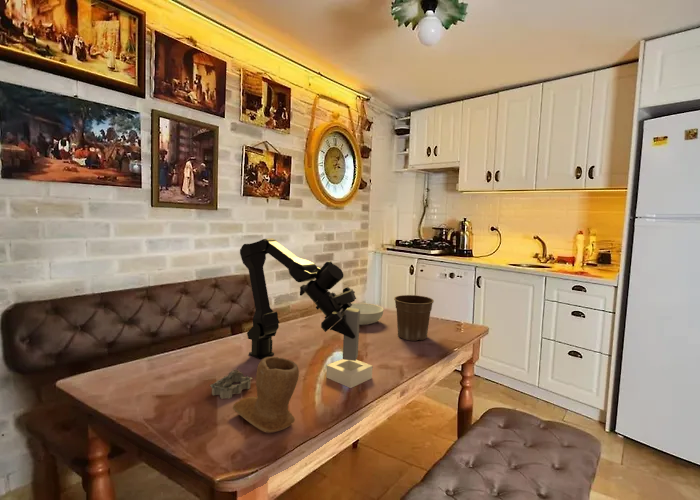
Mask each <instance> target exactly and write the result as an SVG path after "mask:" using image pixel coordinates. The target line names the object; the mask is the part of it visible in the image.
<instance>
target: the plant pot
mask: <svg viewBox="0 0 700 500" xmlns="http://www.w3.org/2000/svg"><path fill="white" fill-rule="evenodd" d="M393 299H394V301H395V308H396V323H397V324H396V325H397V336H398V337H400V338H401V339H403V340H406V341H415V342H416V341H418V340H419V341H424V340H426V339H427V338H428V332H429V325H430V317H431V311H432V309H433V304H434V302H435V301H434V299H433V298H431V297H428V296H425V295H424V296H423V295H418V294H417V295H416V294H415V295H414V294H404V295H403V294H401V295H397V296H394V298H393Z"/></svg>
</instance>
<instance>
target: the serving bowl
mask: <svg viewBox="0 0 700 500" xmlns="http://www.w3.org/2000/svg"><path fill="white" fill-rule="evenodd" d="M351 304H352V306H351V307H350V308H354V309H360V321H359V326H365V325H370V324H375V323H377V322H378V321H380V319H381V318H382V317H383V314H384V307H382V306H380V305H377V304H373V303H365V302H354V303H353V302H351Z"/></svg>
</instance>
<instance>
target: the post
mask: <svg viewBox="0 0 700 500" xmlns="http://www.w3.org/2000/svg"><path fill="white" fill-rule="evenodd" d="M345 315H346V323H347V324H348V325H349V327H350V328H351V330H352V332H353V333H354V335H355V338H354V339H352V338H349V337H347V336H345V335H343V344H342V359H344V360H353V361H356V360H358V359H357V358H358V356H359V336H360V325H359V321H360V309H354V308H347V309H346V310H345Z"/></svg>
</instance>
